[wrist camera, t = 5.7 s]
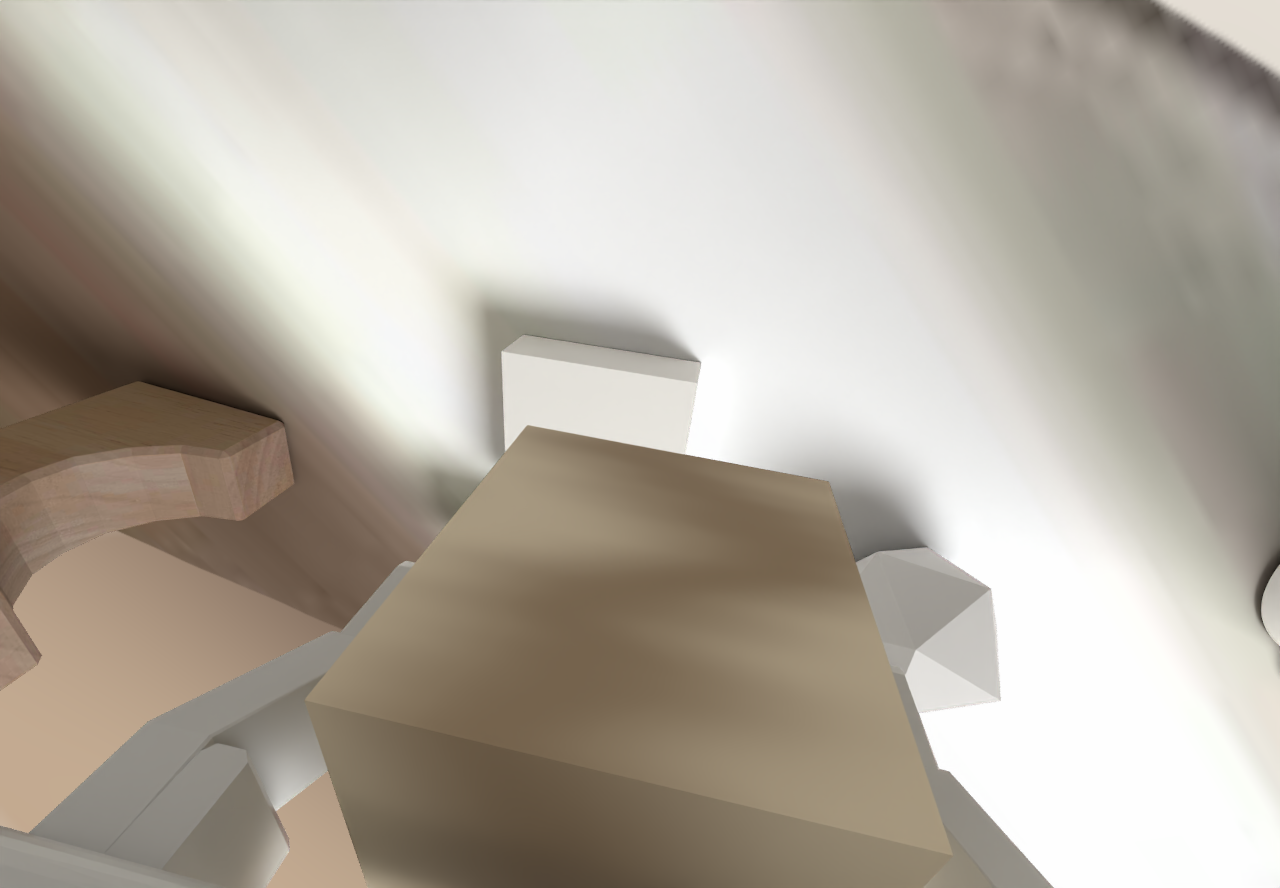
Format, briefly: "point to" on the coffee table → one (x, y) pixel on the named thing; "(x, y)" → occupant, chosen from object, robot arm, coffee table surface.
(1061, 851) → the coffee table surface
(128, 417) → the decorative block
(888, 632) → the die
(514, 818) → the beech cube
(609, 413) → the foundation slab
